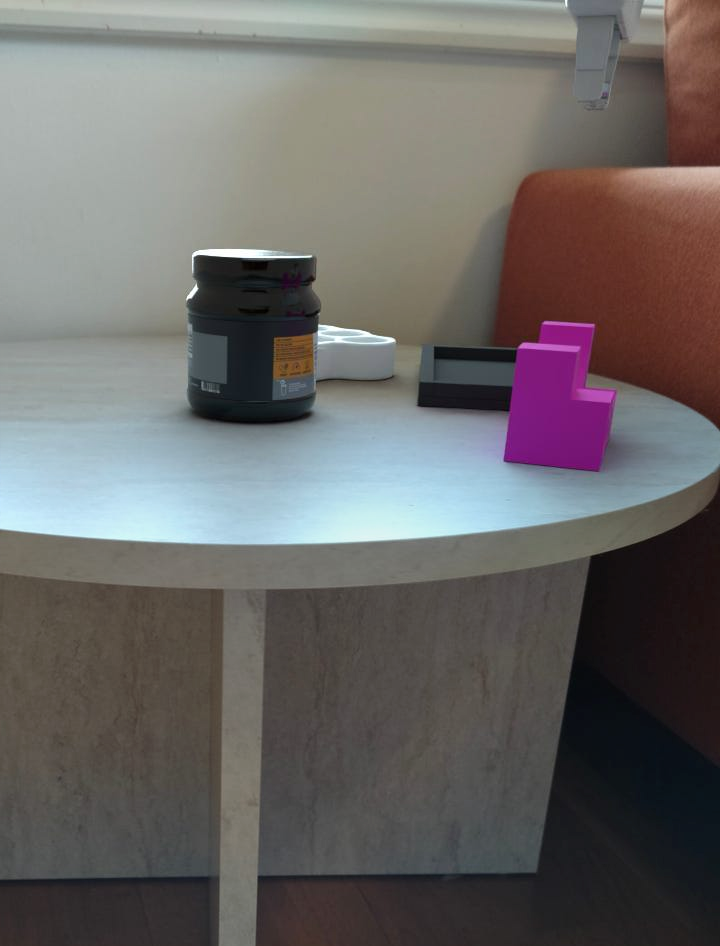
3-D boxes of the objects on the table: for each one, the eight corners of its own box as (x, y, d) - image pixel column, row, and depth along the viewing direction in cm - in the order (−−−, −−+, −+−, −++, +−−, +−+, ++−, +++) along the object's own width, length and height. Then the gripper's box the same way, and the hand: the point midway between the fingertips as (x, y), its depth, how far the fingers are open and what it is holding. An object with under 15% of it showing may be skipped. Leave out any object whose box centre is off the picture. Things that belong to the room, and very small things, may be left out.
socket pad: (534, 369, 103) (537, 348, 102) (556, 413, 84) (560, 388, 83) (420, 363, 105) (422, 343, 104) (417, 405, 86) (419, 381, 85)
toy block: (599, 471, 67) (618, 355, 64) (503, 460, 70) (517, 347, 66) (612, 425, 80) (629, 326, 77) (531, 417, 82) (544, 321, 79)
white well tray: (190, 363, 103) (290, 349, 112) (322, 390, 91) (422, 372, 100) (190, 328, 101) (292, 317, 111) (324, 351, 90) (426, 337, 99)
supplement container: (342, 412, 83) (352, 255, 78) (251, 431, 76) (255, 260, 71) (251, 392, 90) (254, 246, 85) (159, 408, 83) (157, 251, 78)
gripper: (680, -192, 56) (635, 95, 61) (675, -103, 73) (640, 113, 79) (561, -181, 58) (528, 96, 63) (584, -97, 75) (556, 114, 81)
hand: (590, 106), depth 71 cm, fingers open, 8 cm apart
